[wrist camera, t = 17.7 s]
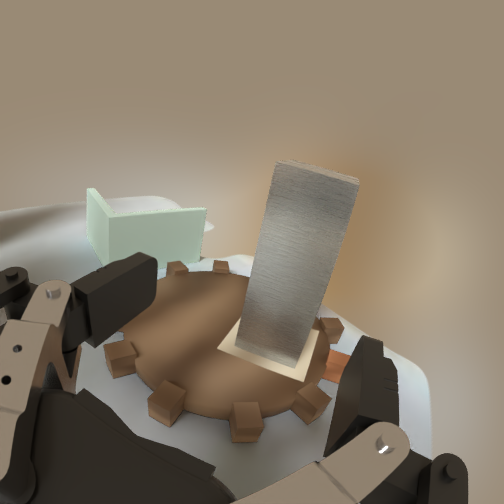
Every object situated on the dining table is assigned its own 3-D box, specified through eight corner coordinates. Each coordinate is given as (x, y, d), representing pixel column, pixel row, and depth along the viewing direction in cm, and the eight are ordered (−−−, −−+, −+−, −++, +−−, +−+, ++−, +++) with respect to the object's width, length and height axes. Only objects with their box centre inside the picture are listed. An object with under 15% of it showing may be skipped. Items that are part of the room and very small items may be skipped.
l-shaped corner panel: (198, 265, 38) (206, 209, 35) (109, 282, 30) (108, 217, 27) (159, 230, 45) (164, 184, 42) (86, 239, 37) (87, 188, 34)
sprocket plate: (52, 345, 18) (47, 327, 18) (186, 257, 38) (188, 243, 37) (318, 485, 13) (330, 473, 12) (350, 315, 32) (356, 301, 32)
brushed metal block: (234, 345, 22) (275, 161, 17) (255, 314, 27) (293, 159, 21) (294, 368, 21) (359, 185, 15) (306, 333, 25) (358, 178, 20)
